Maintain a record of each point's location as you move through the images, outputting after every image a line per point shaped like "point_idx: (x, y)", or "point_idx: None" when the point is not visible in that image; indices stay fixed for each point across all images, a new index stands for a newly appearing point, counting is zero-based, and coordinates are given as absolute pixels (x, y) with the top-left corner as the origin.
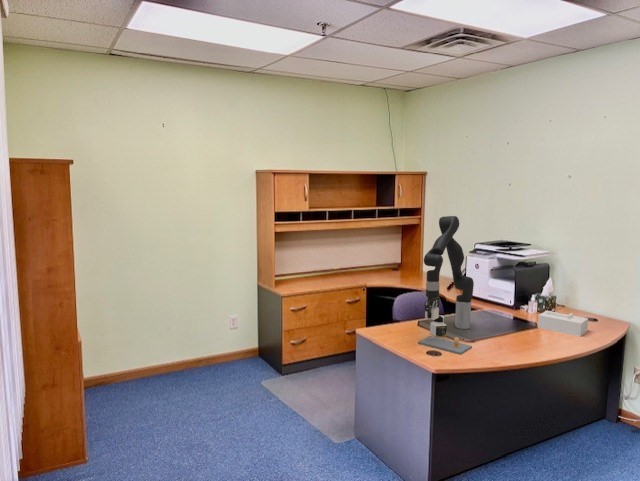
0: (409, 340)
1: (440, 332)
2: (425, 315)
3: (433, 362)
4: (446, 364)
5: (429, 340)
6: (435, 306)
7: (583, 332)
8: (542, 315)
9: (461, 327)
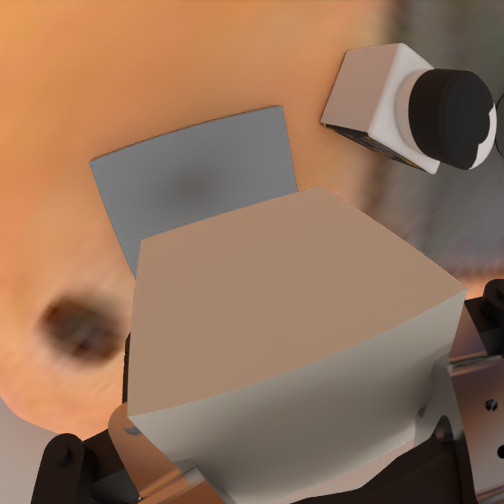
0: (85, 69)
1: (365, 143)
2: (141, 270)
3: (29, 394)
4: (70, 422)
5: (186, 184)
6: (418, 434)
7: None
8: None
9: (500, 140)
